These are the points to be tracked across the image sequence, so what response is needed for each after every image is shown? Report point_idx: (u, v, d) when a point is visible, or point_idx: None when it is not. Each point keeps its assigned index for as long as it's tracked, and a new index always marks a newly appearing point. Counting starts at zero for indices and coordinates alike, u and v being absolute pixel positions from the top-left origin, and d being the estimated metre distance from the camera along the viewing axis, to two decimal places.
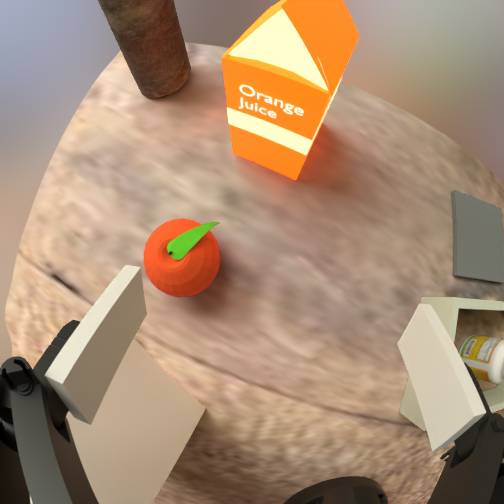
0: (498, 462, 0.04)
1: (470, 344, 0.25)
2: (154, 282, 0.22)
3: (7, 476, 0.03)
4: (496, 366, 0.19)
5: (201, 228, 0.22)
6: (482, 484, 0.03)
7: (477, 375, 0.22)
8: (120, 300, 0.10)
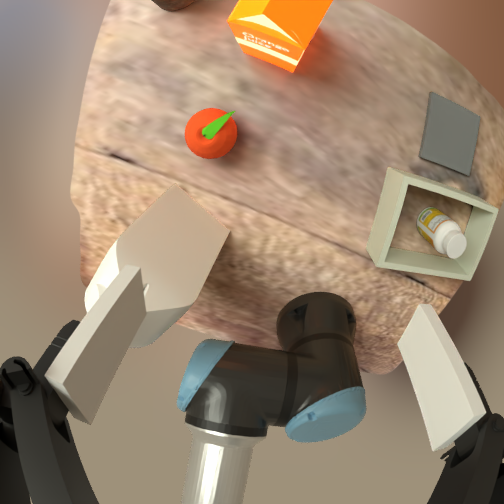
0: (498, 462, 0.04)
1: (426, 213, 0.38)
2: (194, 152, 0.34)
3: (7, 476, 0.03)
4: (439, 238, 0.34)
5: (223, 117, 0.30)
6: (482, 484, 0.03)
7: (427, 239, 0.38)
8: (120, 300, 0.10)
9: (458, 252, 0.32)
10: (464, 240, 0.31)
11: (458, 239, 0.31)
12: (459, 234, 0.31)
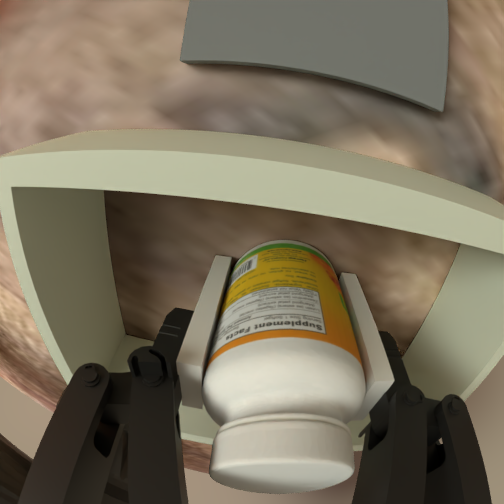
0: (423, 439, 0.05)
1: (240, 270, 0.12)
2: None
3: (88, 482, 0.04)
4: (210, 412, 0.08)
5: None
6: (408, 470, 0.05)
7: None
8: (223, 286, 0.11)
9: (299, 488, 0.06)
10: (331, 470, 0.05)
11: (278, 471, 0.05)
12: (280, 460, 0.05)
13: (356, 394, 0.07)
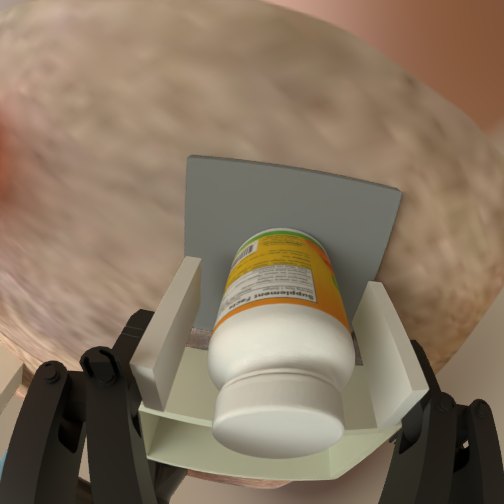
0: (452, 445, 0.05)
1: (242, 254, 0.13)
2: None
3: (58, 478, 0.04)
4: (214, 377, 0.09)
5: None
6: (436, 472, 0.04)
7: None
8: (189, 288, 0.11)
9: (295, 450, 0.07)
10: (323, 424, 0.06)
11: (274, 423, 0.06)
12: (275, 408, 0.06)
13: (345, 358, 0.08)
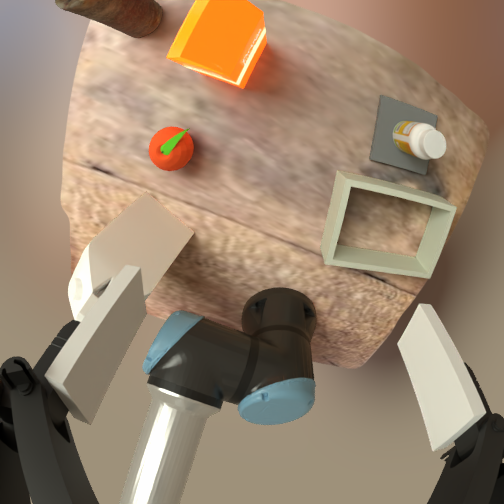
0: (498, 462, 0.04)
1: (401, 124, 0.35)
2: None
3: (7, 476, 0.03)
4: (414, 138, 0.31)
5: (177, 136, 0.35)
6: (482, 484, 0.03)
7: (404, 147, 0.35)
8: (120, 300, 0.10)
9: (438, 151, 0.29)
10: (442, 138, 0.28)
11: (435, 136, 0.28)
12: (435, 130, 0.28)
13: None
